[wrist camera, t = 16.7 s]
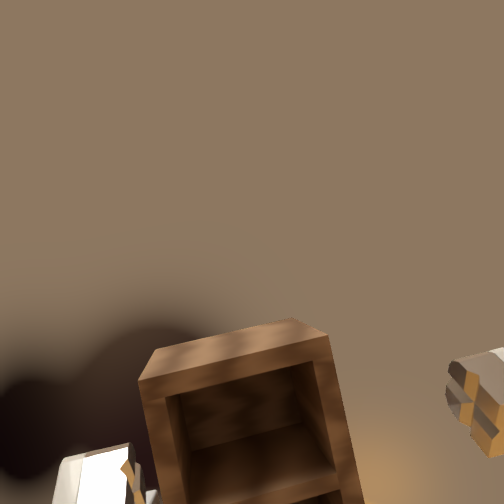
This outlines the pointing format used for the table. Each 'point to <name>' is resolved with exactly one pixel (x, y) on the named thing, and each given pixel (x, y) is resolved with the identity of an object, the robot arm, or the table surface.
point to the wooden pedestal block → (250, 419)
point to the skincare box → (152, 497)
